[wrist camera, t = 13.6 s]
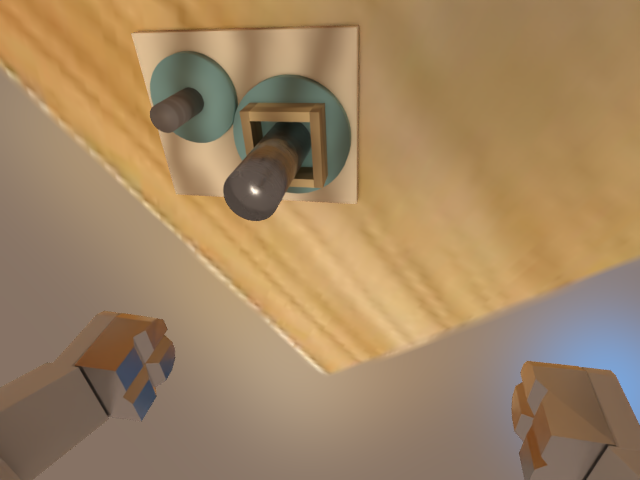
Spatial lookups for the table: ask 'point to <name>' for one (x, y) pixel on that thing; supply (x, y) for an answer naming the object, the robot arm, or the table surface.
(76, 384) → the robot arm
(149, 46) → the gear board
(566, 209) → the table surface
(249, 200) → the axle
